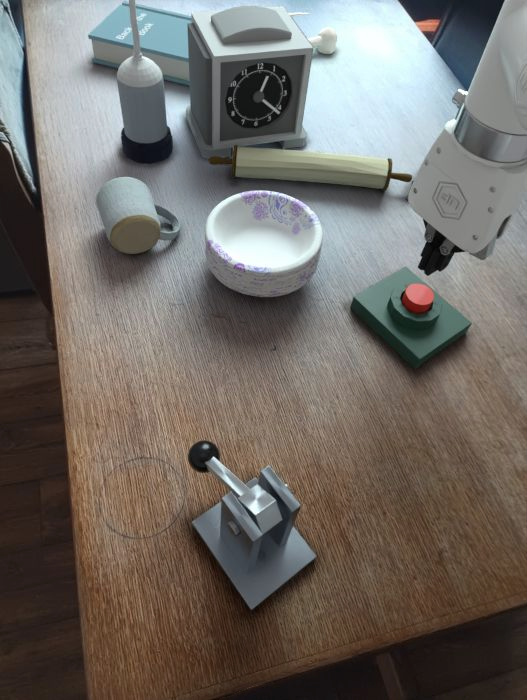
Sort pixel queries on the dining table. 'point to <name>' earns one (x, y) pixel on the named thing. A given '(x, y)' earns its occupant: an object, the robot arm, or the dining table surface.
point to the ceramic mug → (132, 216)
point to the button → (417, 298)
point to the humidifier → (143, 105)
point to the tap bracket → (255, 542)
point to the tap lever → (236, 485)
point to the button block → (409, 318)
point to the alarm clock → (247, 78)
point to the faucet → (323, 38)
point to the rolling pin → (311, 167)
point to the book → (145, 40)
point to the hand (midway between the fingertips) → (430, 267)
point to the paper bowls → (263, 243)
